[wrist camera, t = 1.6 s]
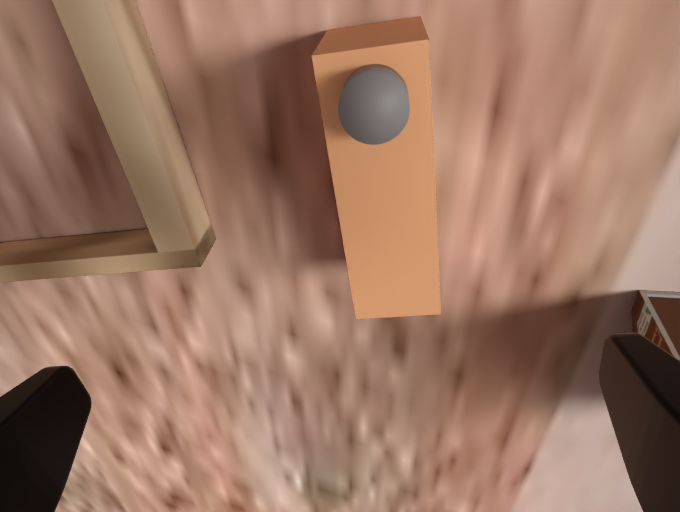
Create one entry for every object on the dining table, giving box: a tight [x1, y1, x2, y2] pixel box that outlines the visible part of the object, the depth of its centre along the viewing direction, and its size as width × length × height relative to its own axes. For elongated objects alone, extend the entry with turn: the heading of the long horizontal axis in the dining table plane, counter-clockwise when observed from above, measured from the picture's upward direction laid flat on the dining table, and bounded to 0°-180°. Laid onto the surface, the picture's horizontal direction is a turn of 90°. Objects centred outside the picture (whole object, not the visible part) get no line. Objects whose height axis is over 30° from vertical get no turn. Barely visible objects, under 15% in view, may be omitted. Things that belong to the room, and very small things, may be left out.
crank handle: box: [312, 16, 441, 319], centre depth 16 cm, size 3×9×5 cm, turn 8°
